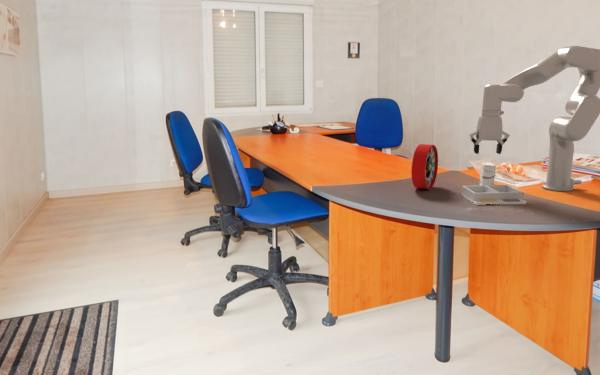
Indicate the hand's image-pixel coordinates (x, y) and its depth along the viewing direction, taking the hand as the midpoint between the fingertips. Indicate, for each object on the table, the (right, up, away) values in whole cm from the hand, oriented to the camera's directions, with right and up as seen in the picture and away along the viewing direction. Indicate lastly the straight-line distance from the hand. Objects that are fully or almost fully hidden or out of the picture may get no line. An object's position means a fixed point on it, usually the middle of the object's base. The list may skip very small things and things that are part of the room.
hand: (487, 153), depth 216 cm
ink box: (+1, -16, +4) cm, 17 cm away
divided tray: (-3, -20, -13) cm, 23 cm away
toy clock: (-25, -15, +9) cm, 31 cm away
